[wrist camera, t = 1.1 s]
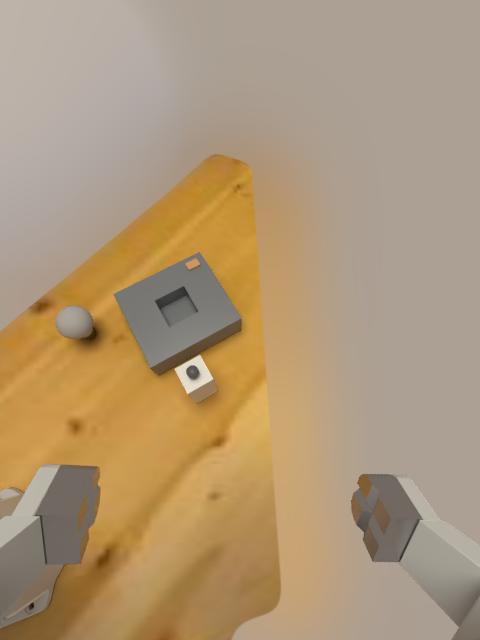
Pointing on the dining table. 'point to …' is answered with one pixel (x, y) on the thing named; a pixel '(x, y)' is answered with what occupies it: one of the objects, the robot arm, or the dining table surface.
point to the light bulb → (75, 323)
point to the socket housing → (178, 313)
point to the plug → (196, 379)
